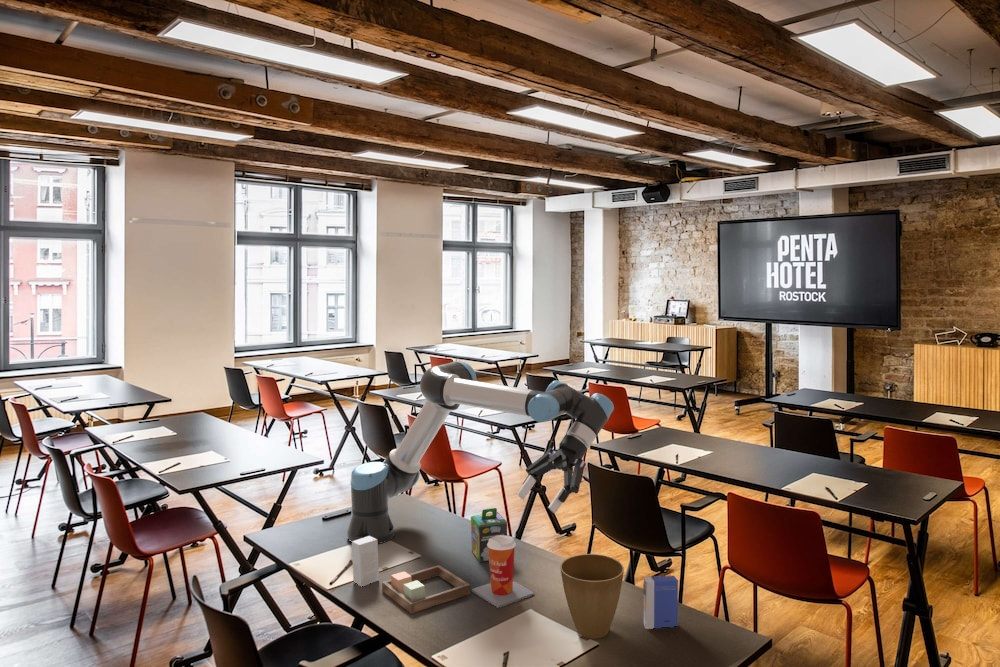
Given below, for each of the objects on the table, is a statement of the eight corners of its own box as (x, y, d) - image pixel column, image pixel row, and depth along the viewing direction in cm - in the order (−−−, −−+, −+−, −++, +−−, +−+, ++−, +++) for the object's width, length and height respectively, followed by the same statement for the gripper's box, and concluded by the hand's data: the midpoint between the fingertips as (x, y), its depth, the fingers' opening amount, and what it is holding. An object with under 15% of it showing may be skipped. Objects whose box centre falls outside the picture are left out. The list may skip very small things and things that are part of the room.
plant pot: (561, 614, 173) (560, 552, 172) (621, 617, 171) (621, 554, 170) (560, 646, 158) (559, 579, 157) (626, 649, 157) (626, 581, 155)
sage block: (404, 602, 181) (403, 584, 180) (417, 598, 183) (417, 580, 183) (411, 608, 177) (411, 589, 177) (425, 604, 180) (424, 585, 179)
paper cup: (481, 591, 185) (480, 540, 184) (501, 581, 191) (500, 532, 190) (503, 600, 180) (502, 547, 179) (522, 590, 185) (522, 539, 184)
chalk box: (499, 547, 217) (498, 501, 215) (508, 558, 208) (508, 510, 207) (470, 551, 214) (469, 504, 212) (479, 563, 205) (478, 514, 204)
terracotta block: (391, 593, 186) (391, 575, 186) (404, 589, 189) (404, 571, 188) (398, 598, 183) (398, 580, 183) (411, 594, 185) (411, 576, 185)
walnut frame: (382, 591, 187) (381, 582, 187) (439, 573, 198) (439, 565, 198) (411, 613, 174) (410, 604, 174) (470, 593, 185) (470, 584, 185)
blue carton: (673, 621, 169) (674, 574, 168) (677, 627, 166) (678, 578, 165) (642, 623, 168) (642, 575, 167) (645, 629, 165) (645, 580, 164)
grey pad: (471, 591, 186) (471, 589, 186) (507, 579, 194) (507, 577, 193) (497, 608, 177) (497, 606, 177) (534, 595, 184) (534, 592, 184)
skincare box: (370, 576, 197) (369, 535, 196) (379, 580, 194) (378, 539, 193) (352, 582, 193) (351, 541, 192) (360, 587, 190) (359, 545, 189)
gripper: (615, 459, 189) (573, 524, 181) (555, 440, 209) (515, 498, 201) (601, 442, 185) (558, 508, 177) (541, 425, 205) (500, 484, 197)
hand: (535, 503), depth 189 cm, fingers open, 13 cm apart
